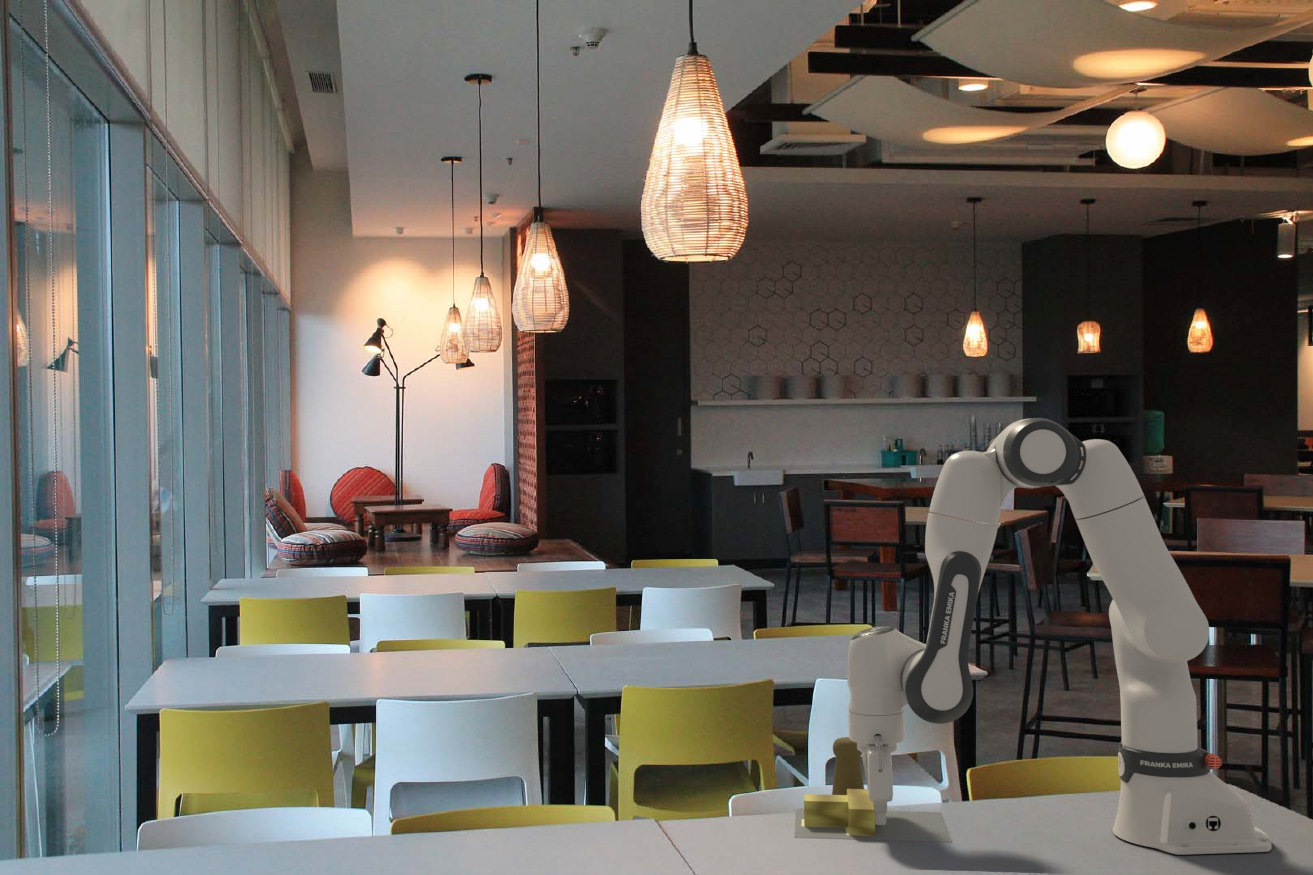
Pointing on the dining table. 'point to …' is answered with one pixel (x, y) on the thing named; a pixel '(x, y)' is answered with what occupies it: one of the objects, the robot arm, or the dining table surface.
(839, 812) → the t block
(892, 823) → the board
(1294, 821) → the dining table surface
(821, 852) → the dining table surface
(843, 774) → the cork
